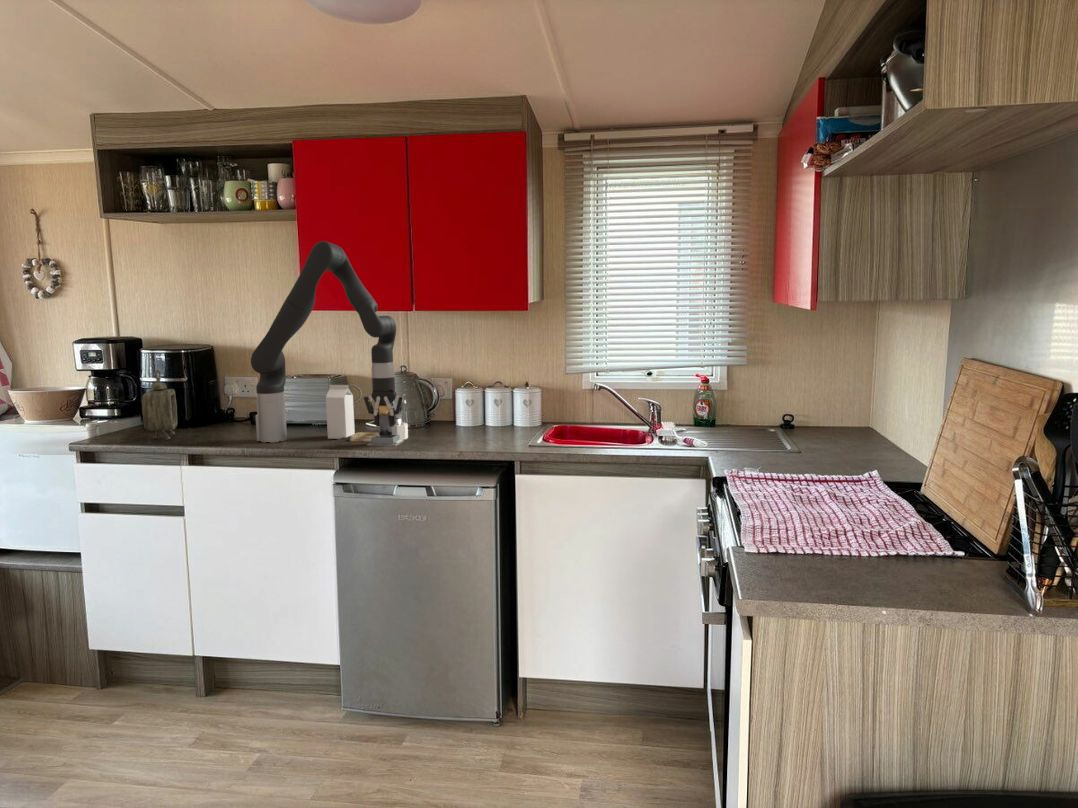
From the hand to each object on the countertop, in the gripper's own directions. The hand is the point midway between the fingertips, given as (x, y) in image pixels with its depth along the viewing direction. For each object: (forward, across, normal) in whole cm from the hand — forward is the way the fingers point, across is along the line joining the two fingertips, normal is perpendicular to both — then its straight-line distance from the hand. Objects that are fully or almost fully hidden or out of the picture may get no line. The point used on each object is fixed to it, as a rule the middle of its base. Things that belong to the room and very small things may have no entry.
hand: (385, 426), depth 264 cm
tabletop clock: (+7, -87, +6) cm, 87 cm away
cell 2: (+6, 0, +9) cm, 11 cm away
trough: (+7, -10, +6) cm, 13 cm away
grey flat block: (+7, 0, 0) cm, 7 cm away
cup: (+7, 0, +9) cm, 12 cm away
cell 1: (+3, 0, 0) cm, 3 cm away
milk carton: (+7, -22, +13) cm, 26 cm away
